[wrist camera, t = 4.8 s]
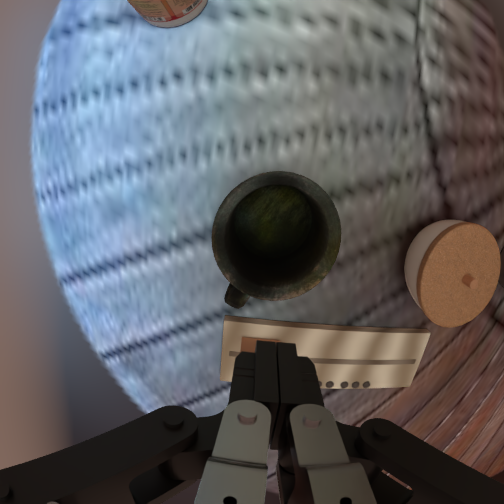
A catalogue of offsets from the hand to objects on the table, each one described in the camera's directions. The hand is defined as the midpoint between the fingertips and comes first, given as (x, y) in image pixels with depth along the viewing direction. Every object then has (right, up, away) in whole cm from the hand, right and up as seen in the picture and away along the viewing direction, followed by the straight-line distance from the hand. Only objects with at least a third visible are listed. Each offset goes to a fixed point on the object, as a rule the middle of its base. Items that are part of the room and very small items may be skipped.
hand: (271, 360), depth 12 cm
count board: (+10, -11, +30) cm, 34 cm away
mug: (+1, +7, +26) cm, 27 cm away
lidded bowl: (+24, +4, +26) cm, 36 cm away
